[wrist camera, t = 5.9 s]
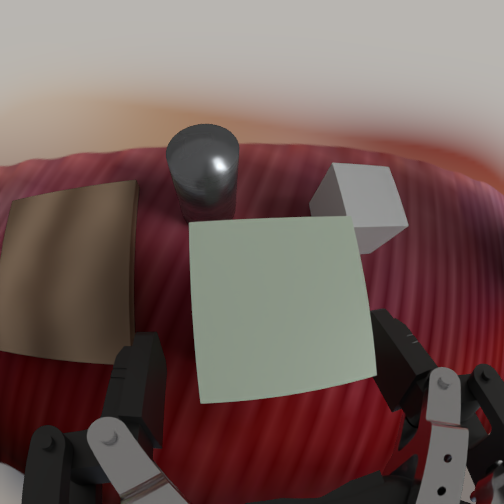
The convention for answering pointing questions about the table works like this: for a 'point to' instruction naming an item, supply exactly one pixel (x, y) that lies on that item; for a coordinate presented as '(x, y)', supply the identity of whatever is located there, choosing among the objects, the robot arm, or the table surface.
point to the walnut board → (70, 274)
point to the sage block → (278, 307)
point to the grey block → (362, 202)
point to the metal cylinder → (204, 172)
